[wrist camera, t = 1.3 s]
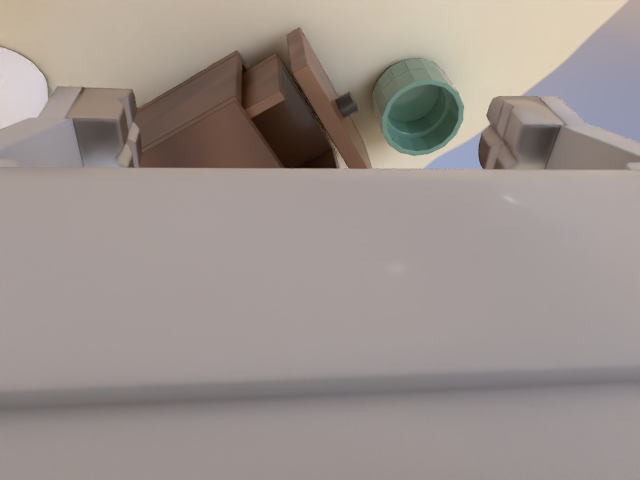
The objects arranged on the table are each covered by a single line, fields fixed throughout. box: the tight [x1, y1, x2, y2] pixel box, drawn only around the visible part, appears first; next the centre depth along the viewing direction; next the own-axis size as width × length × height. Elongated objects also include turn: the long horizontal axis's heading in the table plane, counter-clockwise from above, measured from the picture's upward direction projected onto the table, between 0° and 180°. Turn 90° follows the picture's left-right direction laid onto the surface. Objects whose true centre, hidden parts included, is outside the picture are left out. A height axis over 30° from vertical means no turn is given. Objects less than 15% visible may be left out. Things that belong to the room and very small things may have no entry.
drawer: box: [241, 28, 372, 169], centre depth 44 cm, size 15×11×7 cm
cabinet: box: [133, 51, 284, 168], centre depth 45 cm, size 15×13×9 cm
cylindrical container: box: [373, 58, 464, 156], centre depth 45 cm, size 6×6×5 cm
